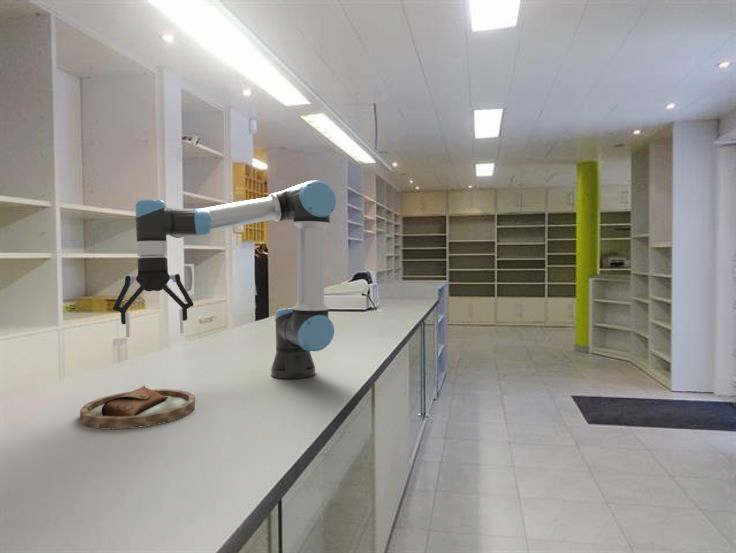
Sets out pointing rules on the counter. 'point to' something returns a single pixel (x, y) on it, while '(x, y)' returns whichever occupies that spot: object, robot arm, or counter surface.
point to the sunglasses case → (132, 403)
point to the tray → (162, 412)
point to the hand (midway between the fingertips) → (155, 334)
